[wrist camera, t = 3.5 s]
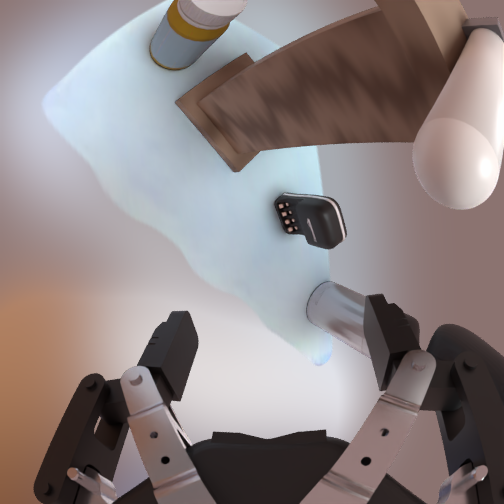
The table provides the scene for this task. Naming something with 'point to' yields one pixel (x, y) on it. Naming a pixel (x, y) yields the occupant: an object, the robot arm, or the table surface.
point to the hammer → (466, 123)
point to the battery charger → (312, 218)
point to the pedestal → (334, 83)
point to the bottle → (191, 30)
